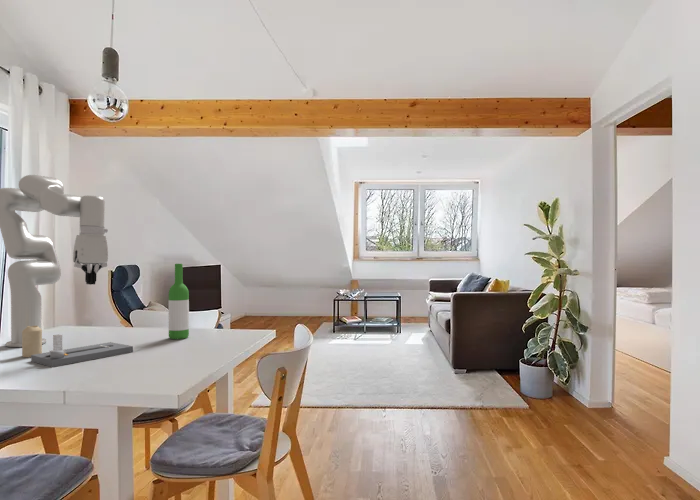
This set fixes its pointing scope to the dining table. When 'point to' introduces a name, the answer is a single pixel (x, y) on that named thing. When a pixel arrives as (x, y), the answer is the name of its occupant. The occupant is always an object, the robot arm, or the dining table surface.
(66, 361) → the console
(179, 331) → the wine bottle
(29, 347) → the candle
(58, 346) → the fader
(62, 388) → the dining table surface
